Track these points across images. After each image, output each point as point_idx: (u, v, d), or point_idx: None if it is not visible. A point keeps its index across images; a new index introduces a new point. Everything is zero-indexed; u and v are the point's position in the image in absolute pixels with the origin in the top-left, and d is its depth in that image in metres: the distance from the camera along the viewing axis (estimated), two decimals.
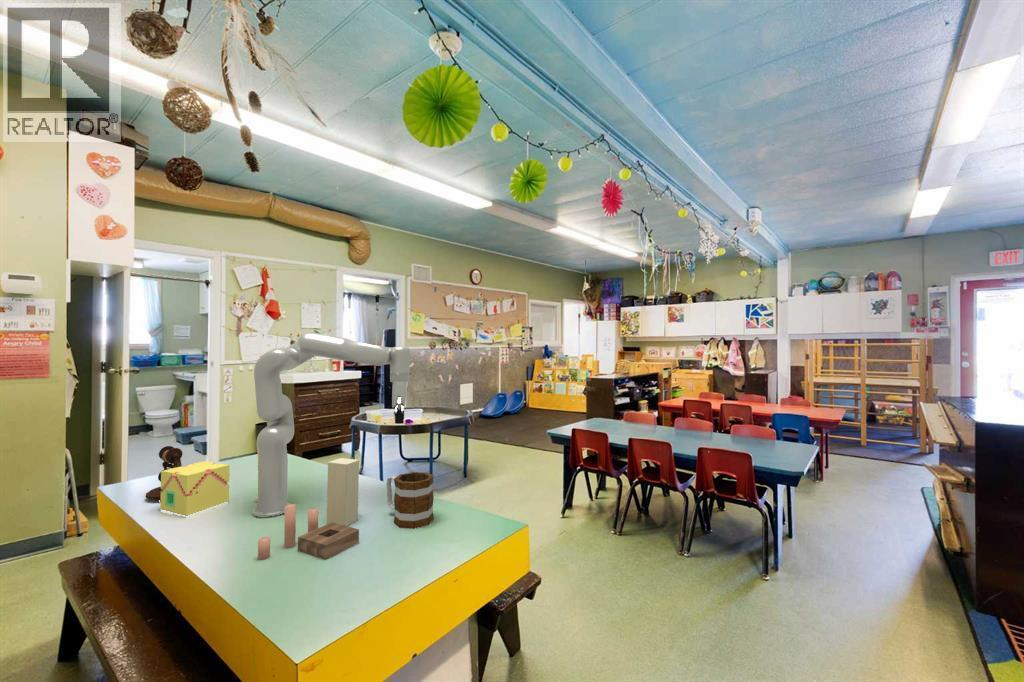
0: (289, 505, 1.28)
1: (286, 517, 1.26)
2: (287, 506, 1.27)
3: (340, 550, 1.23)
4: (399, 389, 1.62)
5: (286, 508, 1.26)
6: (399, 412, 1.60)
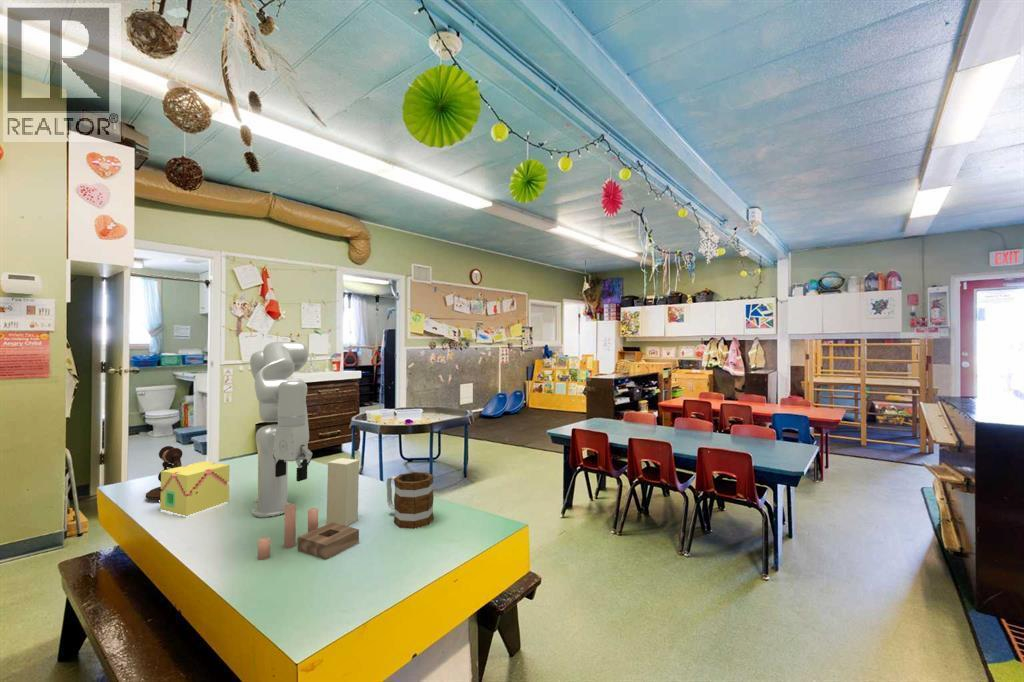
0: (289, 505, 1.28)
1: (286, 517, 1.26)
2: (287, 506, 1.27)
3: (340, 550, 1.23)
4: (302, 436, 1.26)
5: (286, 508, 1.26)
6: (305, 465, 1.25)
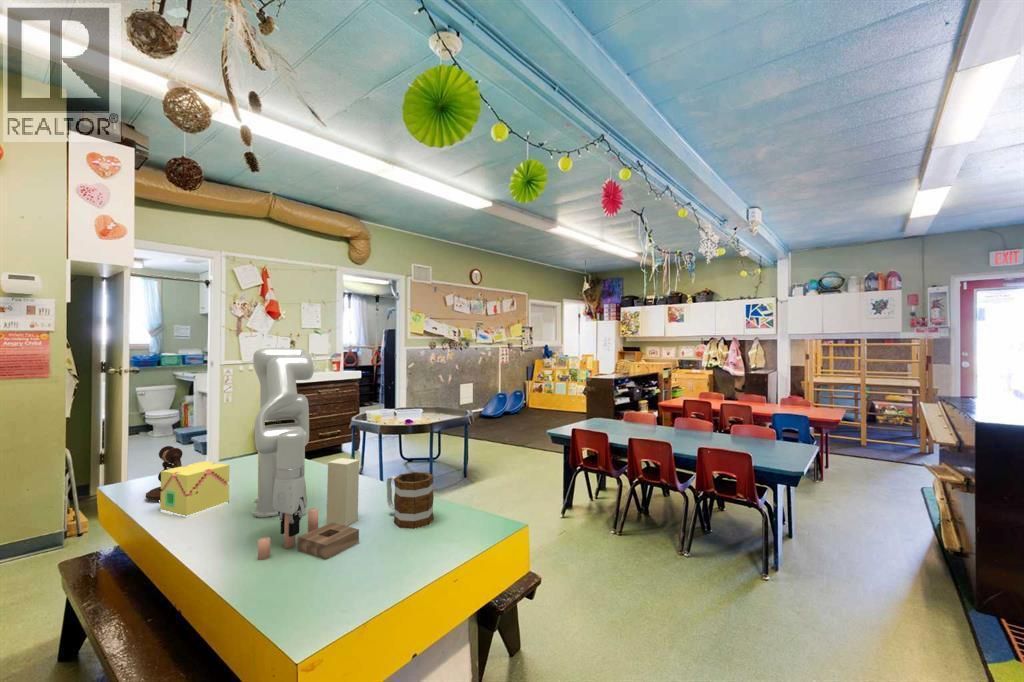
0: None
1: (286, 517, 1.26)
2: None
3: (340, 550, 1.23)
4: (301, 488, 1.26)
5: None
6: (296, 521, 1.26)
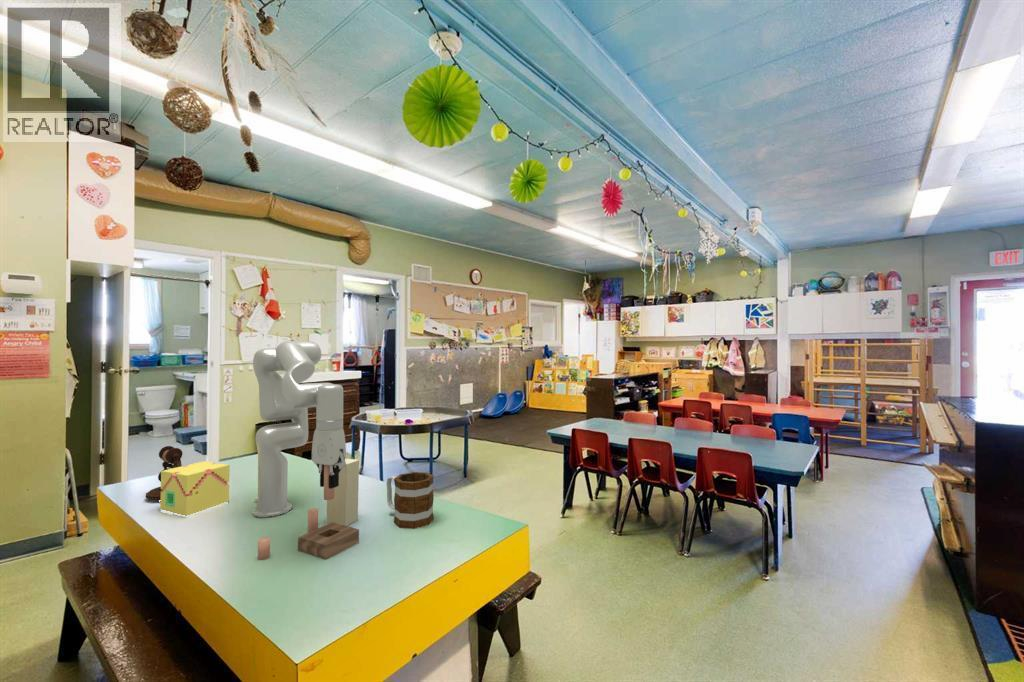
0: None
1: (326, 469, 1.26)
2: None
3: (340, 550, 1.23)
4: (340, 440, 1.26)
5: None
6: (336, 474, 1.26)
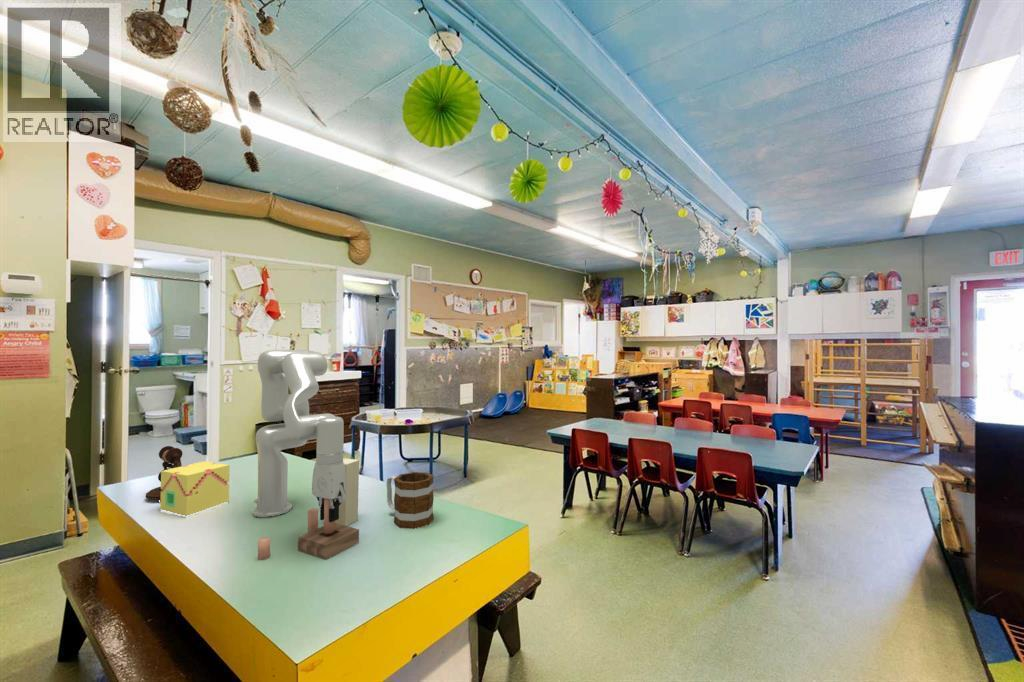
0: None
1: (326, 503, 1.26)
2: None
3: (340, 550, 1.23)
4: (341, 474, 1.25)
5: None
6: (336, 507, 1.26)
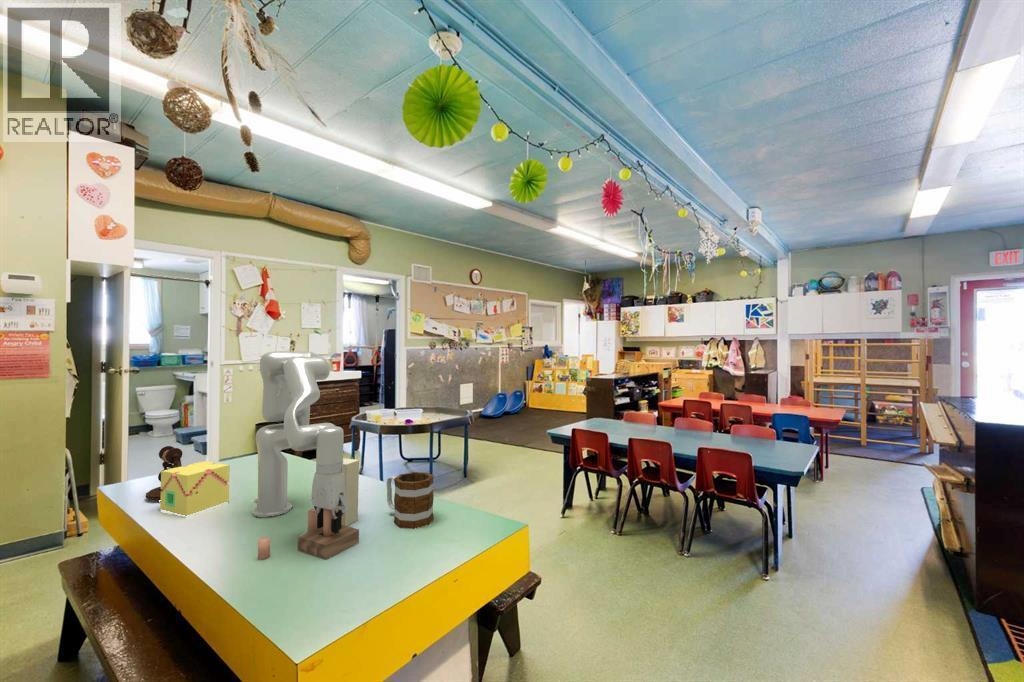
0: None
1: (325, 518, 1.26)
2: None
3: (340, 550, 1.23)
4: (340, 484, 1.25)
5: (325, 509, 1.26)
6: (339, 517, 1.25)
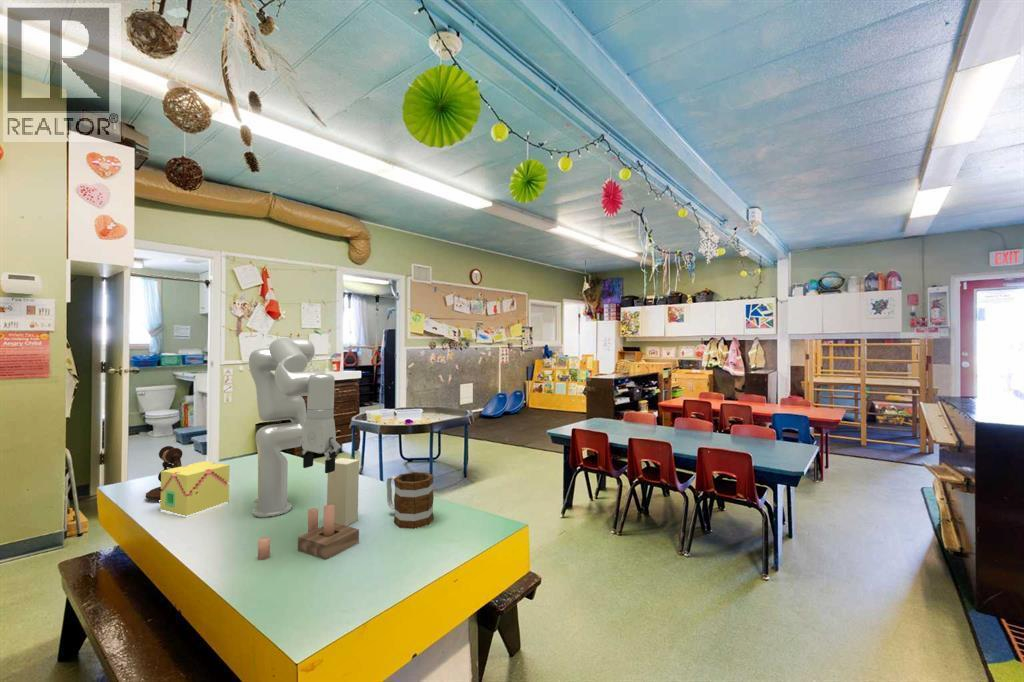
0: (328, 505, 1.27)
1: (325, 518, 1.26)
2: (326, 507, 1.26)
3: (340, 550, 1.23)
4: (330, 429, 1.28)
5: (326, 509, 1.26)
6: (333, 458, 1.27)
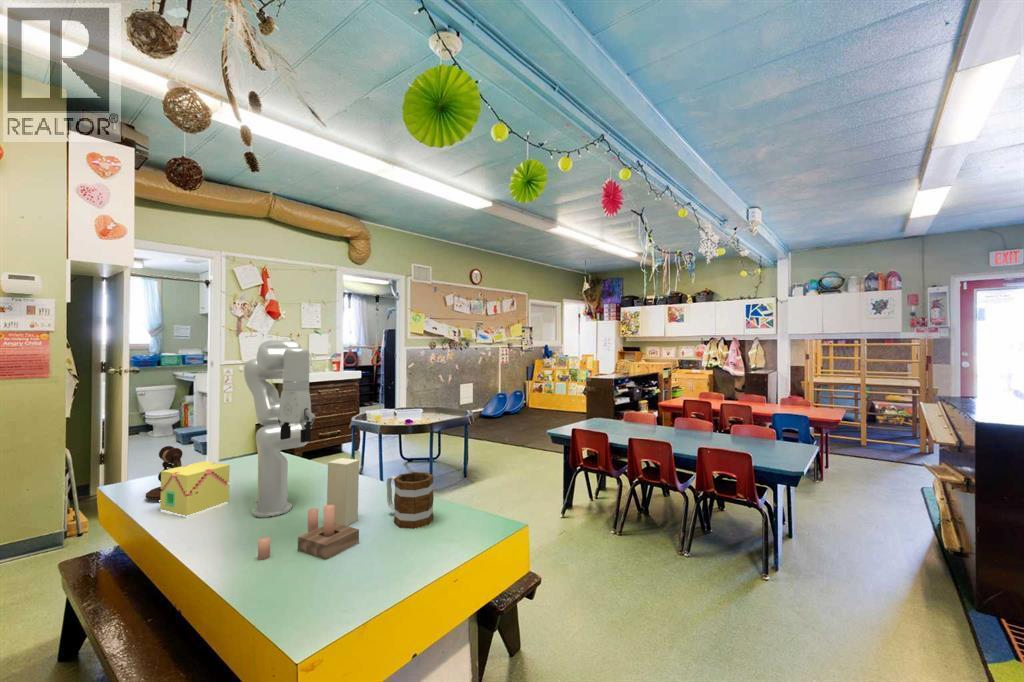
0: (328, 505, 1.28)
1: (325, 518, 1.26)
2: (326, 507, 1.26)
3: (340, 550, 1.23)
4: (305, 400, 1.33)
5: (326, 509, 1.26)
6: (308, 428, 1.32)
